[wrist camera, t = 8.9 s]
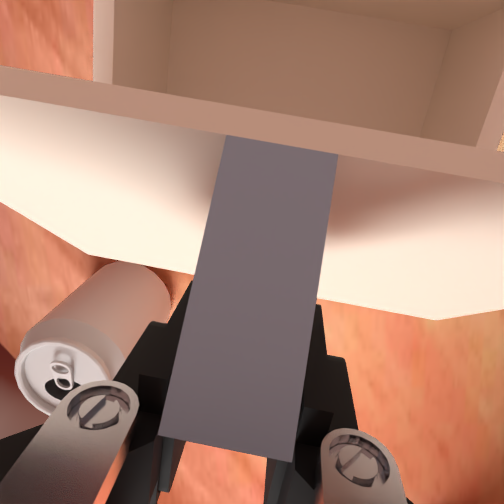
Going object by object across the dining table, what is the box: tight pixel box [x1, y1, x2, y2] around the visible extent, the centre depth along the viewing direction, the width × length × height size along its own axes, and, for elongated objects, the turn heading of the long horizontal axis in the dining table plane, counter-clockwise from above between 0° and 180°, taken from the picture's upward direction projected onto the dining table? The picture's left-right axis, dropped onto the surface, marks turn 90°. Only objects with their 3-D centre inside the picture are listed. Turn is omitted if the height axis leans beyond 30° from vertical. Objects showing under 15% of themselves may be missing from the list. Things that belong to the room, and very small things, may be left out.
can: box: [15, 261, 171, 416], centre depth 30 cm, size 8×8×12 cm
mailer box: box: [93, 0, 504, 151], centre depth 24 cm, size 16×20×10 cm
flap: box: [0, 65, 504, 463], centre depth 14 cm, size 16×20×6 cm
